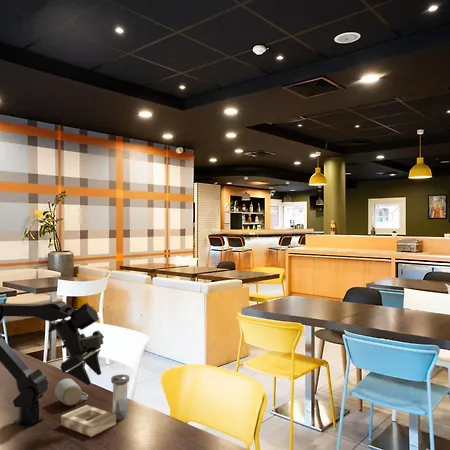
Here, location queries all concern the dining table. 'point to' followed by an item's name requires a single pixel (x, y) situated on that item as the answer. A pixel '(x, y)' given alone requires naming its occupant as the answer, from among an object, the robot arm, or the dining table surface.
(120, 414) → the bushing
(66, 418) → the plate
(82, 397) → the ceramic mug
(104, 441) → the dining table surface
